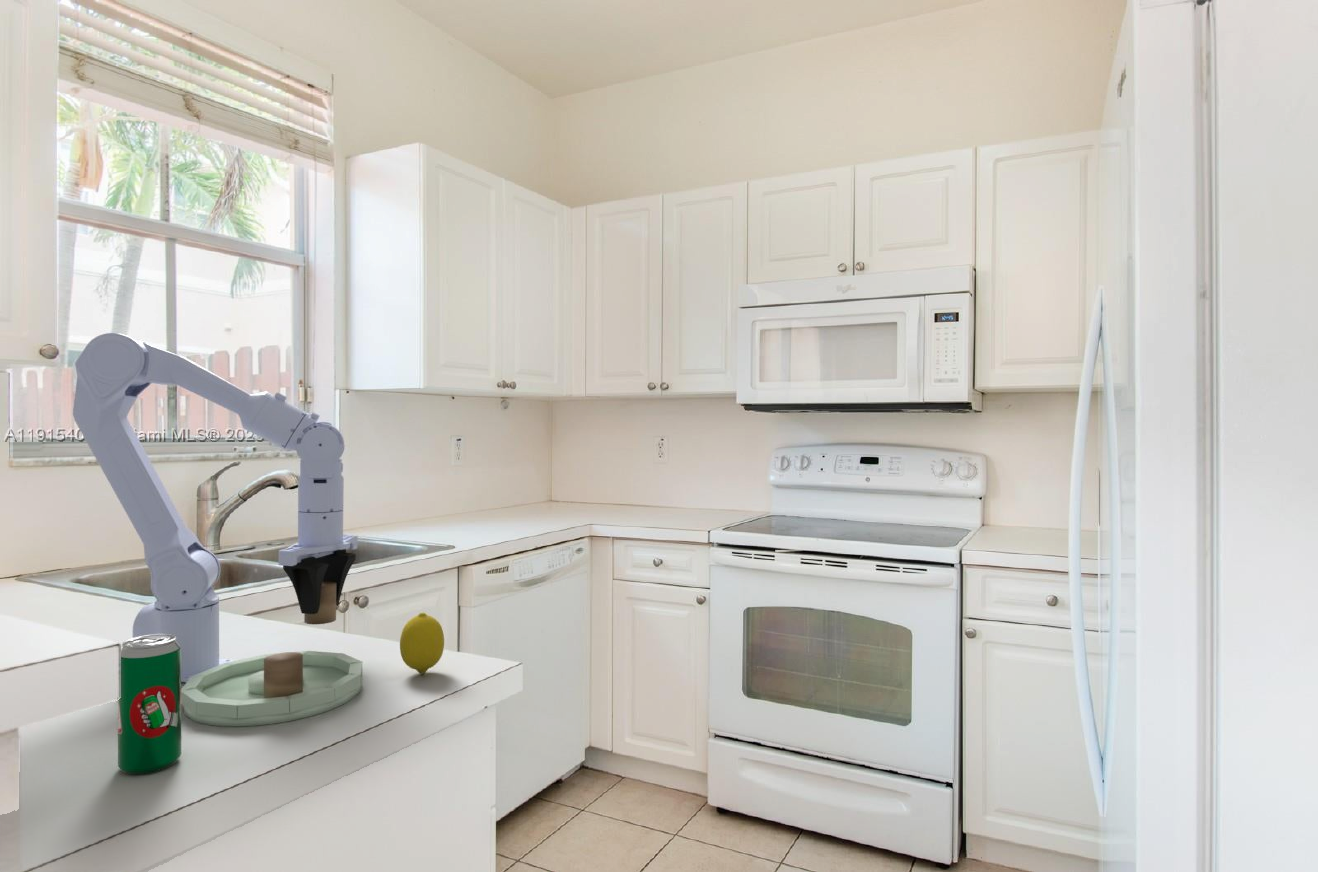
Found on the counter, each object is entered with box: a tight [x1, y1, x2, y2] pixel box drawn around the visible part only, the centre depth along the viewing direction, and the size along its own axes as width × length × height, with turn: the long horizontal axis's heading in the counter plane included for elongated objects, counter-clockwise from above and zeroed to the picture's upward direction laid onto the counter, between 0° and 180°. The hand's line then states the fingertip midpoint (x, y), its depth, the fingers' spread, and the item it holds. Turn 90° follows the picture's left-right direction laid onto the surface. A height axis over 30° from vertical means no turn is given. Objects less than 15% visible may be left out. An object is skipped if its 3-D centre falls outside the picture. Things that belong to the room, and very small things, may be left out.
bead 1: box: [264, 651, 303, 699], centre depth 88 cm, size 4×4×5 cm
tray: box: [181, 650, 363, 727], centre depth 93 cm, size 19×19×2 cm
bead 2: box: [303, 581, 337, 625], centre depth 106 cm, size 4×4×5 cm
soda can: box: [117, 634, 182, 776], centre depth 74 cm, size 5×5×12 cm
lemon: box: [399, 612, 445, 675], centre depth 101 cm, size 6×6×8 cm
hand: (320, 609), depth 106 cm, fingers closed on bead 2, 4 cm apart
